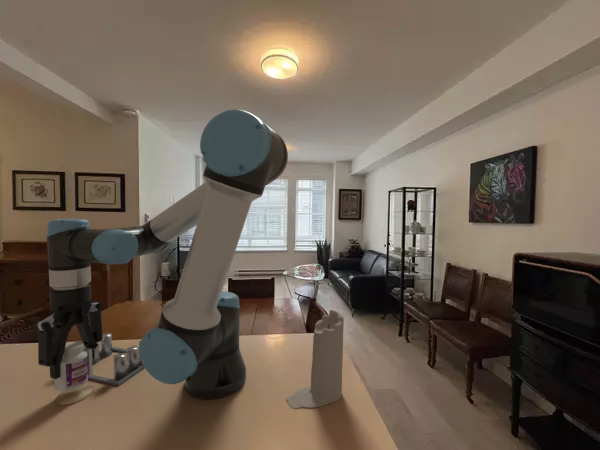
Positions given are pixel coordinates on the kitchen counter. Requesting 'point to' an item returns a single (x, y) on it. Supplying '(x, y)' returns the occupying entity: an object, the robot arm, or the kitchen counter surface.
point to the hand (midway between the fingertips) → (74, 381)
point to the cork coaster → (74, 395)
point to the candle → (324, 365)
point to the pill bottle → (75, 365)
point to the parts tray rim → (112, 381)
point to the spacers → (118, 357)
